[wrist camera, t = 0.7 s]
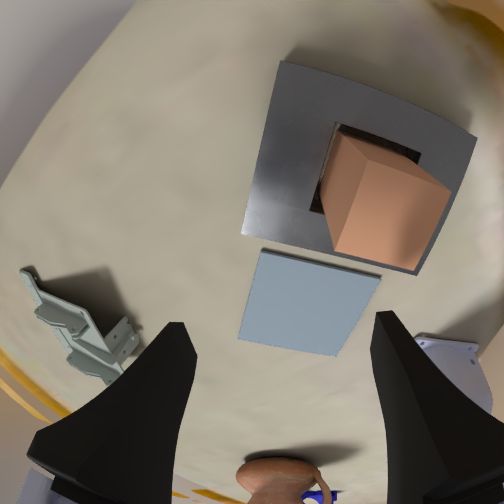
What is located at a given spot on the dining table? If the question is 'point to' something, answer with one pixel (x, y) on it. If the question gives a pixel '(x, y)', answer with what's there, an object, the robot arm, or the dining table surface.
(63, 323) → the metal bracket
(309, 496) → the blue curved cradle
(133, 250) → the dining table surface
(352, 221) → the square peg
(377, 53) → the dining table surface
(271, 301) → the rubber mat
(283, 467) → the ceramic jug
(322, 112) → the socket plate
